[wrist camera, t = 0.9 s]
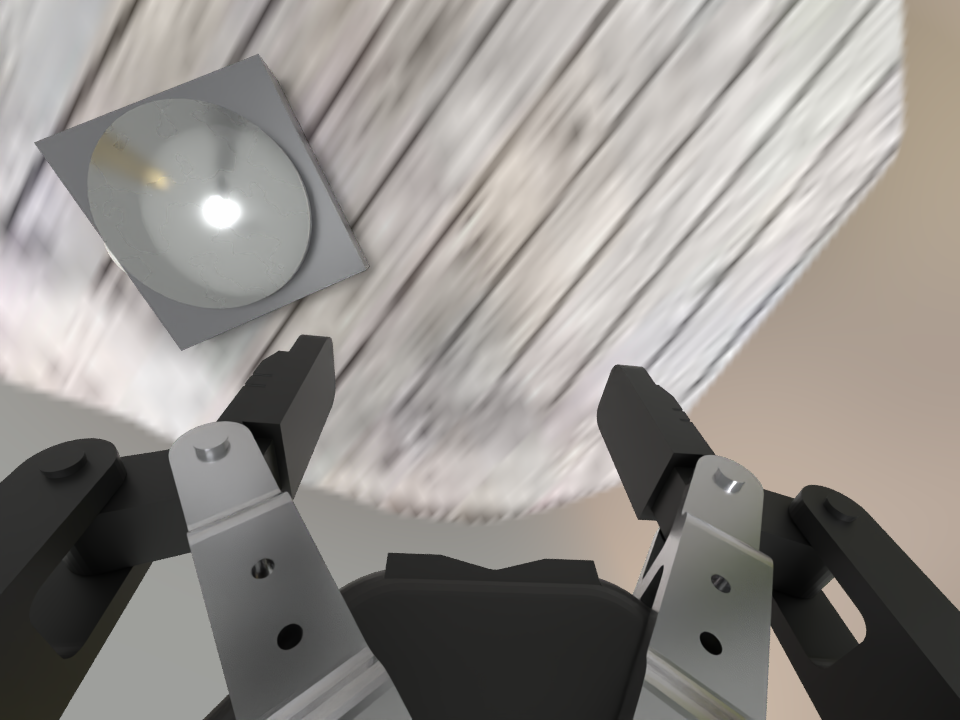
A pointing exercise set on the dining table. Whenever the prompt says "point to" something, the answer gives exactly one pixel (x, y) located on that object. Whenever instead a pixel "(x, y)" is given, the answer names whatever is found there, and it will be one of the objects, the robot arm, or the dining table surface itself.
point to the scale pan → (199, 203)
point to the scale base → (267, 108)
